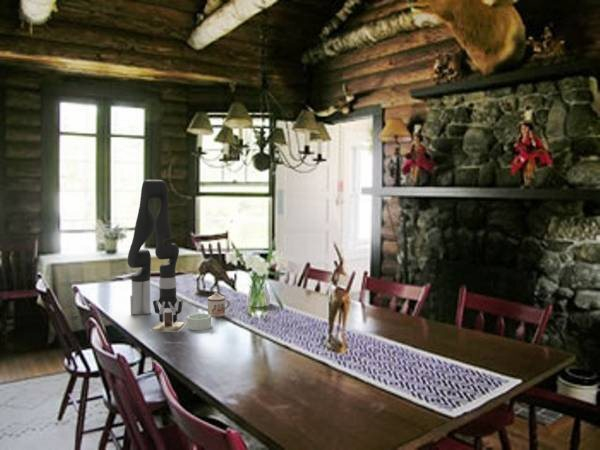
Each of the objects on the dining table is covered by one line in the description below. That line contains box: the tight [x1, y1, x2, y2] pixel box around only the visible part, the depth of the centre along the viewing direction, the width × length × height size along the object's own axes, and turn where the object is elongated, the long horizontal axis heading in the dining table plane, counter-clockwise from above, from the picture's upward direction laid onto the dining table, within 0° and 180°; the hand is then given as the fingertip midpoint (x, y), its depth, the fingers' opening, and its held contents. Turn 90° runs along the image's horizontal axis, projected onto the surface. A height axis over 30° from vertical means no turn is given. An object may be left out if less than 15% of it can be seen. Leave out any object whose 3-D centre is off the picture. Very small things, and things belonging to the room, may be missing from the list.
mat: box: [148, 323, 187, 333], centre depth 242 cm, size 14×14×1 cm
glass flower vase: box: [246, 282, 271, 307], centre depth 290 cm, size 13×13×18 cm
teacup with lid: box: [206, 292, 231, 318], centre depth 267 cm, size 12×9×12 cm
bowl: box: [186, 312, 212, 331], centre depth 243 cm, size 11×11×6 cm
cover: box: [150, 311, 186, 332], centre depth 242 cm, size 12×12×7 cm
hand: (168, 322), depth 242 cm, fingers open, 5 cm apart
